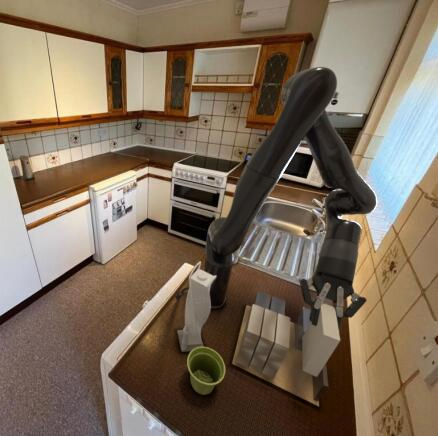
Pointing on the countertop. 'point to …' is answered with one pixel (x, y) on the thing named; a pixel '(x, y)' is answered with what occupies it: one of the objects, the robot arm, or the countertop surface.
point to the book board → (287, 367)
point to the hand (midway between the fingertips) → (323, 328)
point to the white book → (320, 340)
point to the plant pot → (205, 369)
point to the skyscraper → (196, 309)
